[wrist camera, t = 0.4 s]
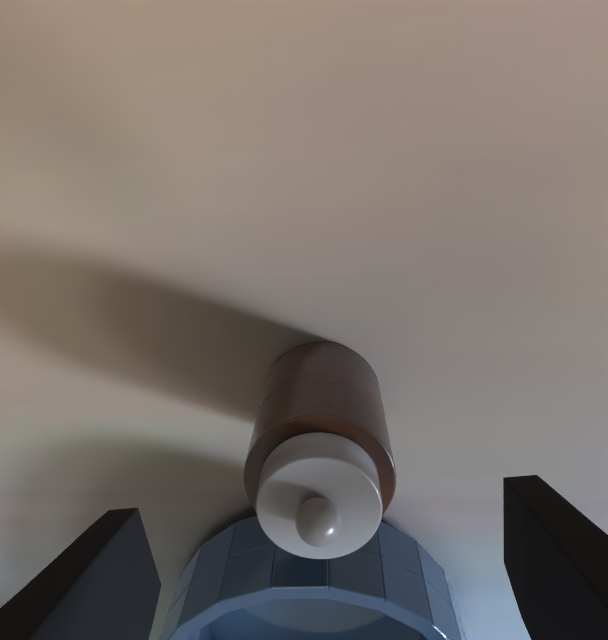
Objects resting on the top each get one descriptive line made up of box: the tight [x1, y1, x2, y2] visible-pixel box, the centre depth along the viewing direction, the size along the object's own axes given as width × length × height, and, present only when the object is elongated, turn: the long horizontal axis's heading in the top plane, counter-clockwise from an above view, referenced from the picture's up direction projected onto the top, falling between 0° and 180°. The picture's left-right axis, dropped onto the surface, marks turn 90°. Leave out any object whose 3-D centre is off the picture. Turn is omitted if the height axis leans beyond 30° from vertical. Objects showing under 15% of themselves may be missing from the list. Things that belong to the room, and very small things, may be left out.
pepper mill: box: [244, 342, 396, 559], centre depth 16 cm, size 4×4×7 cm
